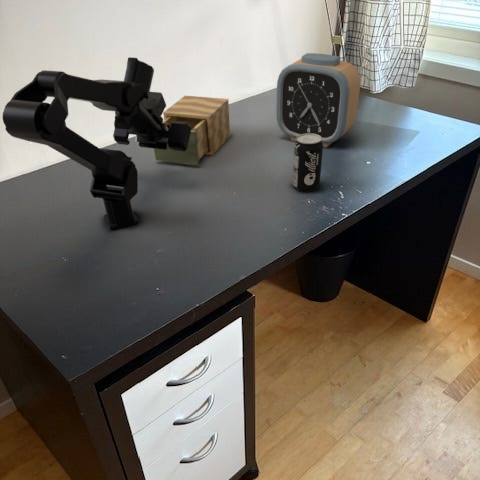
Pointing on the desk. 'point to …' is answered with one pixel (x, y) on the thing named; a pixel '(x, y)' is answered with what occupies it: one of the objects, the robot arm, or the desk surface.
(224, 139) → the cabinet
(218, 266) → the desk surface
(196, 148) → the drawer
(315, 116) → the alarm clock
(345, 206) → the desk surface
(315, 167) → the beverage can
